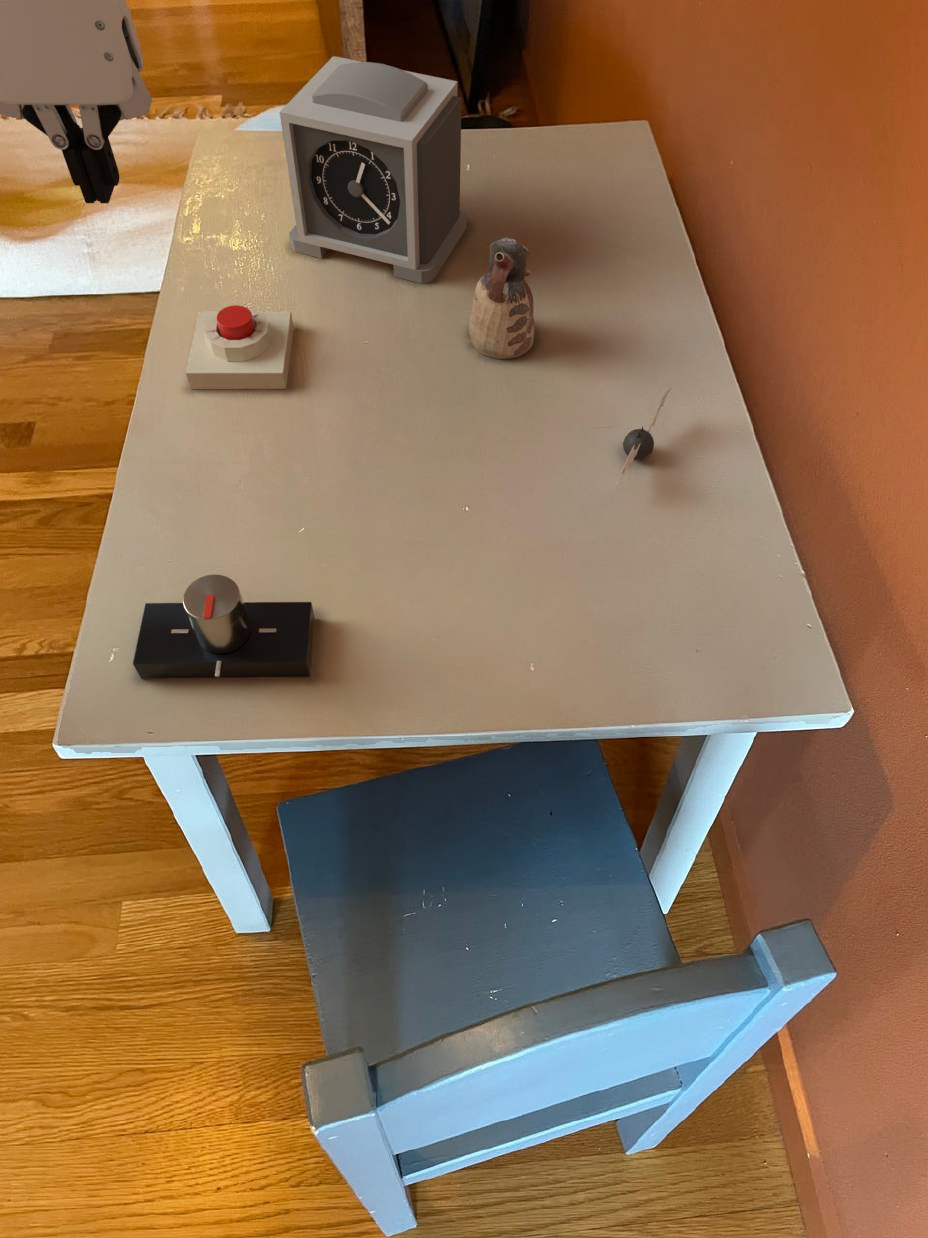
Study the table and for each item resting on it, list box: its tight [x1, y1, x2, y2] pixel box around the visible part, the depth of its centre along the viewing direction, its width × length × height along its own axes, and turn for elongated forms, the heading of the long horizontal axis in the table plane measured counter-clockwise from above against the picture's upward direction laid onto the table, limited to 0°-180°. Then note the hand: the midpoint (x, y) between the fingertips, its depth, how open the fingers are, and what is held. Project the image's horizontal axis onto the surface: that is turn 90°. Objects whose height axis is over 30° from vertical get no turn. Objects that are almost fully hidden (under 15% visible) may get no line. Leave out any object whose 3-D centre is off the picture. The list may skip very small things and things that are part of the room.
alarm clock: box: [279, 55, 467, 284], centre depth 103 cm, size 18×13×18 cm
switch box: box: [185, 306, 295, 390], centre depth 96 cm, size 10×10×4 cm
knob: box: [182, 574, 251, 654], centre depth 73 cm, size 4×4×5 cm
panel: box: [132, 601, 316, 680], centre depth 76 cm, size 14×9×3 cm, turn 91°
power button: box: [217, 304, 255, 340], centre depth 94 cm, size 4×4×2 cm
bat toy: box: [615, 387, 672, 486], centre depth 89 cm, size 3×15×5 cm, turn 153°
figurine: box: [468, 237, 536, 360], centre depth 95 cm, size 7×7×12 cm
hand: (101, 192), depth 67 cm, fingers closed
